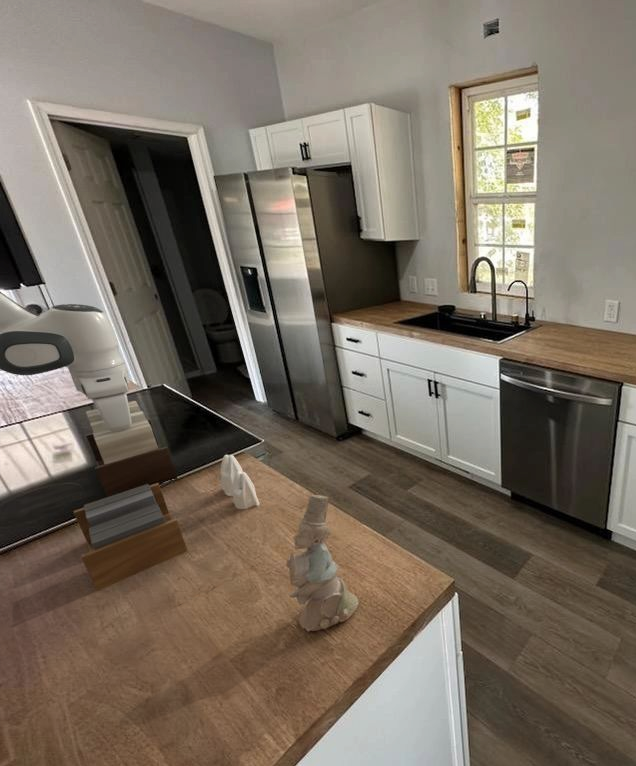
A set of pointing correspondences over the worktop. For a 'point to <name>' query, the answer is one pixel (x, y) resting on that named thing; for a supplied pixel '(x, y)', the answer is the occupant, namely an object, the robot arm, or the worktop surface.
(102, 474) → the brown wooden crate
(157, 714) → the worktop surface
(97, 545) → the coaster holder
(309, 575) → the figurine
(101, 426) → the white book
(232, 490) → the shaker set
